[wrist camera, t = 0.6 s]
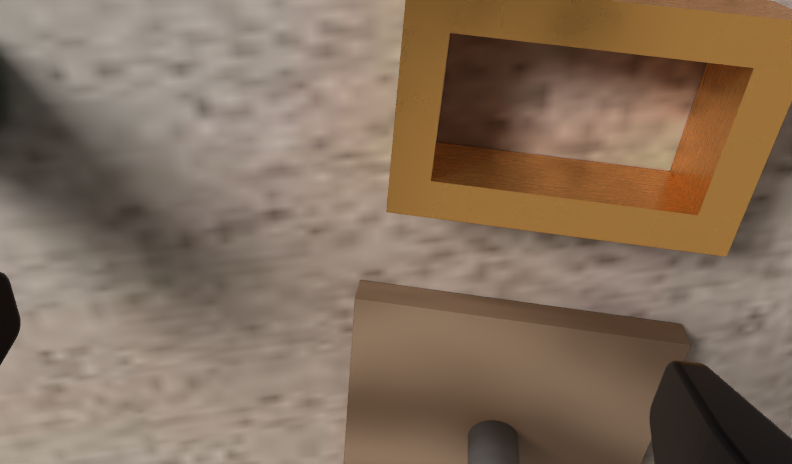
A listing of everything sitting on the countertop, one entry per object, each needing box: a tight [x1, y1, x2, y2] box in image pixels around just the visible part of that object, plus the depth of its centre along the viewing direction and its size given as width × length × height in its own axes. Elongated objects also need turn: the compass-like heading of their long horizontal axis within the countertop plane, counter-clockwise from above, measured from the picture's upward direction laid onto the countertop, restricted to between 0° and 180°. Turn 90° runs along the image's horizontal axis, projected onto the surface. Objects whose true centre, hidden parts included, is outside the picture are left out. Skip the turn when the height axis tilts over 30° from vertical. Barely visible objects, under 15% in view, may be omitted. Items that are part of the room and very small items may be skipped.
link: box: [386, 0, 792, 257], centre depth 18 cm, size 7×10×3 cm, turn 85°
